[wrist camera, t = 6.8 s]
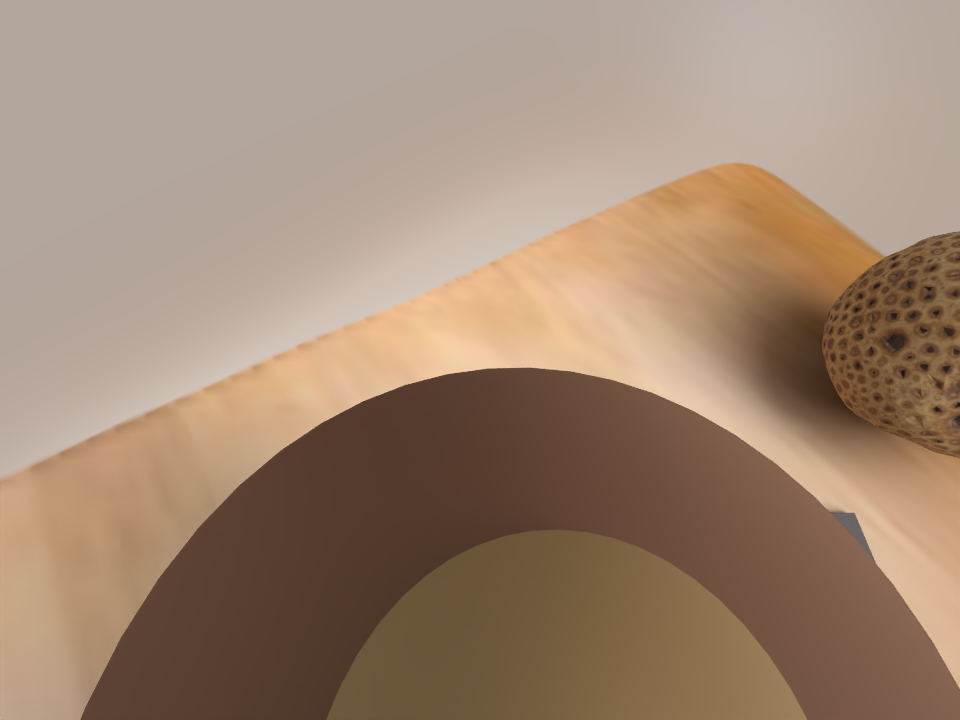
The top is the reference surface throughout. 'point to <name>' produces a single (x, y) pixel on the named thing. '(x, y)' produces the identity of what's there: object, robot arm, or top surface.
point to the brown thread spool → (523, 576)
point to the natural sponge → (902, 344)
